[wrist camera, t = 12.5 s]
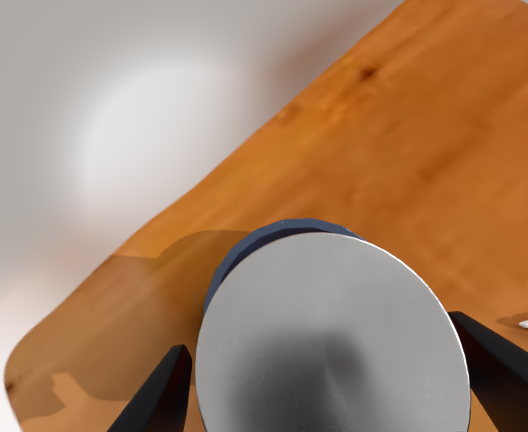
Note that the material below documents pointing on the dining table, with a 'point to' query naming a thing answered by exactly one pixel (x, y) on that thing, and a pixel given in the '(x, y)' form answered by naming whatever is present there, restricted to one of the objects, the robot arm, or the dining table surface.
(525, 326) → the unicorn horn
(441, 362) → the tin
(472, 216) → the dining table surface
